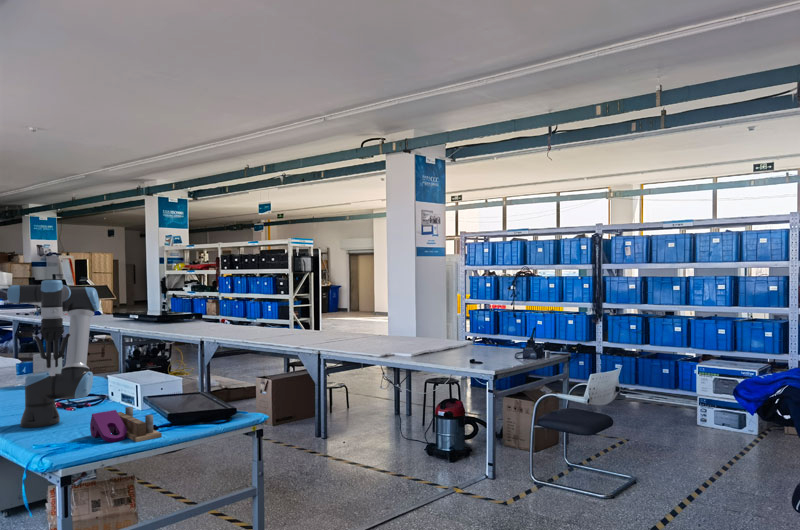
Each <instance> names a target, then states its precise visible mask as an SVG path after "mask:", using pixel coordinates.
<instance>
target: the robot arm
mask: <svg viewBox="0 0 800 530" xmlns="http://www.w3.org/2000/svg"><path fill="white" fill-rule="evenodd" d="M6 293H7V294H6V297H7V301H8V302H9V303H10V304H28V305H34V306H38V307H39V308H40V313H41V315H40V316H41V318H42V319H40V320H41V321H40V323H41V324H40V331H39V333H38V334H36V335H33V339H34V341H36V345H37V347H38V351H39V354H40V355H41V358H42V359H46V367H47V368H49V371H44V372H39V373H34V374H33V373H32V374H29V375H27V376H26V377H25V382H24V395H25V396H24V410H23V413H22V415H21V418H20V428H40V427H41V428H42V427H47V426H51V425H55V424H57V423H59V422H60V421H61V420H60V419H61V417H60V414H59V411H58V408H57V406H56V400H65V399H67V400H68V399H79V398H81V399H82V398H85V397H88V395H89V394H90V393H91V391H92V388H93V383H94V374H93V372H92V371H90V367H89V366H88V365H87V361H88V352H89V342H90V340H89V339H90V329H91V318H92V317H94V316H95V312H98V311H99V309H100V301H99V300H100V299H99V295H98V291H97V289H96V288H94V287H92V286H91V287H90V286H89V287H87V286H84V287H80V286H79V287H76V286H75V287H69V286H68V285H65V284H63V281H62V280H61V279H49V280H48V279H47V280H45V279H44V280H42V281H41V284H26V285H25V284H24V285H23V284H22V285H21V284H15V285H14V284H13V285H10V286H9V287H8V289H7V292H6ZM64 312H66V315H67V316H69V317H70V319H69V328H68V330H69V331H68V333H67V331H65V330H64V327H63V326H64V325H63V323H64V322H63V321H64V320H63V316H64V315H63V313H64ZM60 338H62V339H61V344H60V347H59V342H60V341H59V340H60ZM42 339H44V340H45V343H46V344H45V349H44V346H43V341H42ZM66 346H67V348H66ZM65 351H66V355H65V356H66V358H65V365H64V366H62V369H61V373H59V374H55V373H56V372H55V367H58V359H59V358H61V357H62V358H63V357H64V354H65ZM45 353H46V355H45ZM51 353H53V358H54V359H51ZM58 353H59V354H58Z"/></svg>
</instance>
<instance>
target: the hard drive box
mask: <svg viewBox="0 0 800 530" xmlns="http://www.w3.org/2000/svg"><path fill="white" fill-rule="evenodd" d="M58 354H59V352H58ZM45 355H46V352H45ZM51 359H54V358H53V352H51ZM62 368H63V357H61V358H59V359H58V367H55V372H56V373H55V374H59V373H61V369H62ZM44 371H49V368H47V367H46V359H42V358H41V355H40V353H34V354H32V374H34V373H39V372H44Z"/></svg>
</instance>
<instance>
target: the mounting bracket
mask: <svg viewBox="0 0 800 530" xmlns="http://www.w3.org/2000/svg"><path fill="white" fill-rule="evenodd" d="M89 424H90V425H89V427H90V428H89V431H90V435H91V437H92V436H93V437H92V438H94V437H97V438H101V439H102V440H103V441H105V442H108V443H115V442H121V441H123V440H125V439H126V438H127V437H126V434H127V428H126V427H125V425H124V423H123V421H122V420H121V418H120V416H119V414H118V411H117V409H113V410H108V411H102V412H94V413H92V414H91V419H90V423H89ZM111 433H112V434H111ZM115 433H117V434H115Z"/></svg>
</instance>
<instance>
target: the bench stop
mask: <svg viewBox="0 0 800 530" xmlns="http://www.w3.org/2000/svg"><path fill="white" fill-rule="evenodd" d="M124 408H125V412H122V411H117V413H118V414H119V416H120V418H121V420H122V421H123V423H124V425H125V427H126V428H127V434H126V437H125V438H127V439H130V440H132V441H134V442H136V443H139V442H144V441H148V440H152V439H158V438H162V434H163V433H162V432H160V431H158V430H156V429H154V414H146V415H145V417H144V419H145V420H143V421H142V420H140V419H139V418H136V417H134V407H133V406H126V407H124Z"/></svg>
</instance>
